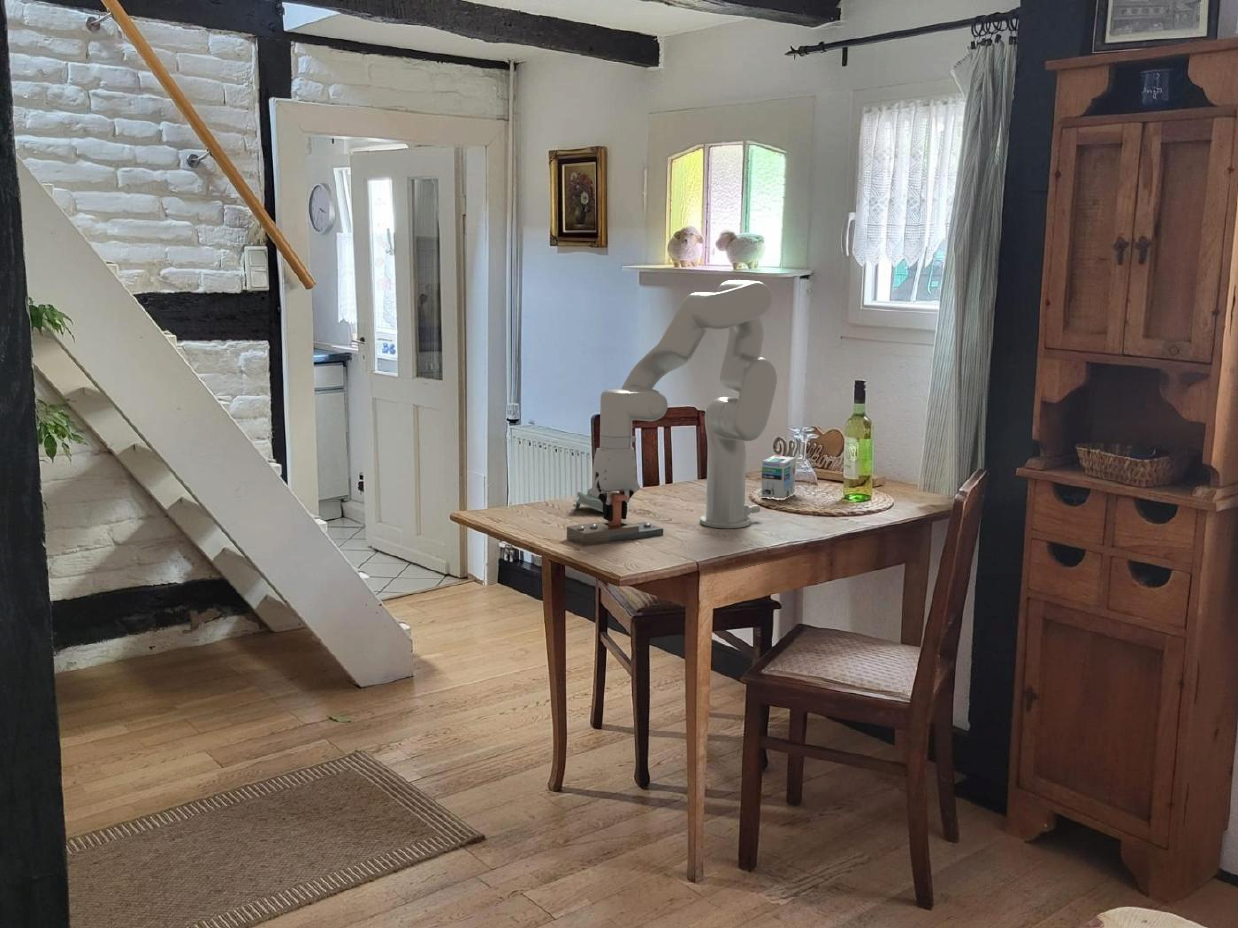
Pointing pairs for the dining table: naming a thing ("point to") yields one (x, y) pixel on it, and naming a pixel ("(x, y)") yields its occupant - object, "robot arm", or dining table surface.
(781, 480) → the light bulb box
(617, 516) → the orange t-shaped block
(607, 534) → the studded slotted plate
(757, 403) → the robot arm
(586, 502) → the metal bracket
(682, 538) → the dining table surface
